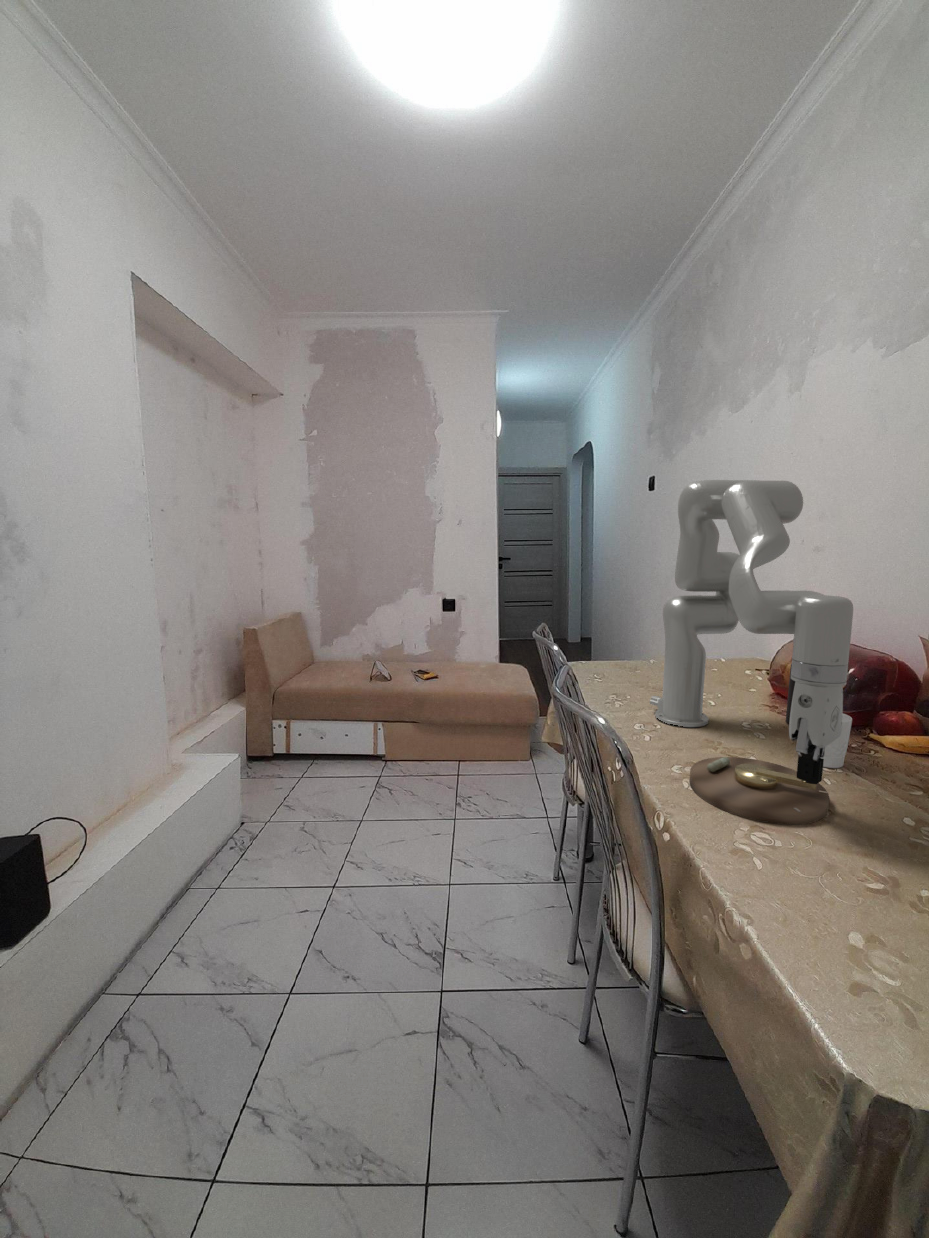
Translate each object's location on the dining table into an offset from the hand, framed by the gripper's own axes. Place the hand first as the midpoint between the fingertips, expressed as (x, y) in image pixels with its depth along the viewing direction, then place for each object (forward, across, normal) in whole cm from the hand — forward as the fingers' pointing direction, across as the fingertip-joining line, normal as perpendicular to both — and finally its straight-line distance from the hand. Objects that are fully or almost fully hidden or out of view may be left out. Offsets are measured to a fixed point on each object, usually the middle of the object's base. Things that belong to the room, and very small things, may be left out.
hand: (808, 779), depth 88 cm
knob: (+4, +2, +6) cm, 7 cm away
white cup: (+6, +26, +6) cm, 27 cm away
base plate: (+6, +1, +9) cm, 11 cm away
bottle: (+6, +47, +17) cm, 50 cm away
